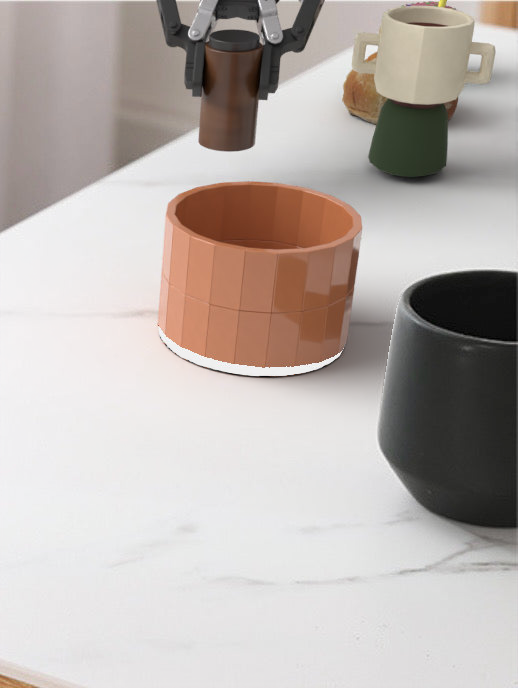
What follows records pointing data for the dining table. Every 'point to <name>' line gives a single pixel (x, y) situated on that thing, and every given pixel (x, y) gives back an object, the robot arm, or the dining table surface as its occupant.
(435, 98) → the character mug
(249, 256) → the pot
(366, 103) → the bread roll
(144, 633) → the dining table surface
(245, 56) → the spice shaker
